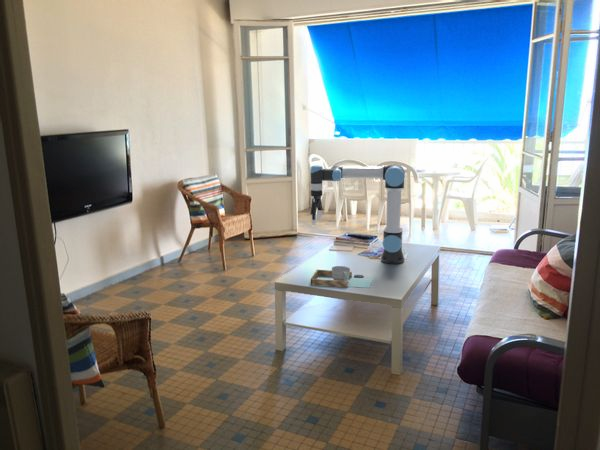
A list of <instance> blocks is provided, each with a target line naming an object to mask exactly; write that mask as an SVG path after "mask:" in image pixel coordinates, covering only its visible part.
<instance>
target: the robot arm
mask: <svg viewBox="0 0 600 450" xmlns="http://www.w3.org/2000/svg"><path fill="white" fill-rule="evenodd" d="M405 173H406V172H405V169H404V168H403V166H401V165H400V164H397V163H396V164H385V165H384V164H383V165H382V166H335V165H334V166H331V168H323V165H316V164H315V165H311V166H310V184H309V186H310V197H313V198H312V199H311V210H310V213H309V214H310V215H311V225H317V221H322V211H323V204H322V197H323V181H324V182H325V181H326V182H327V181H328V182H338V181H339V182H341V180H342V179H375V180H377V179H380V180H382V181H384V189H385V190H387V192H386V221H385V227H384V229H383V233H382V234H383V236H382V237H383V238H382V247H383V251H382V253H381V257H380V261H381V262H383V263H385V264H391V265H395V264H396V265H398V264H402V263H404V262H405V256H404V252H403V250H402V249H403V228H402V227H401V213H402V212H401V209H402V190H403V189H404V188H405V177H406V175H405Z"/></svg>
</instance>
